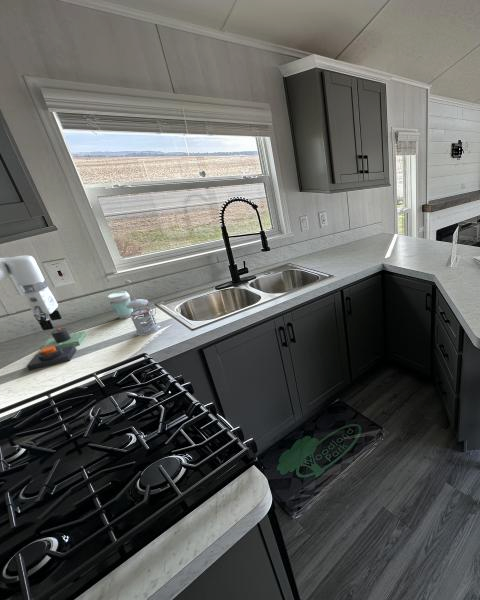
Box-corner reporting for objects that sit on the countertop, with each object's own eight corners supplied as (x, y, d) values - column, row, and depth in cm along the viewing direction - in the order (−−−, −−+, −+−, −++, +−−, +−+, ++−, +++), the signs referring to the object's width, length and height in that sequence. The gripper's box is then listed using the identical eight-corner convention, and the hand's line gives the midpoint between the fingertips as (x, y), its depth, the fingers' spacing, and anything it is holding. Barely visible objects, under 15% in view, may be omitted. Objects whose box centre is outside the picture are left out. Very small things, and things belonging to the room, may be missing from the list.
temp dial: (69, 340, 140) (63, 330, 138) (54, 343, 138) (48, 334, 136) (72, 335, 144) (67, 326, 142) (57, 338, 142) (52, 329, 140)
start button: (41, 356, 127) (38, 352, 126) (45, 351, 130) (42, 347, 129) (54, 353, 129) (52, 349, 128) (58, 348, 132) (56, 344, 131)
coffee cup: (140, 313, 166) (131, 292, 161) (122, 321, 159) (112, 299, 154) (131, 310, 170) (122, 289, 165) (112, 318, 163) (102, 296, 158)
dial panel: (42, 353, 136) (40, 349, 135) (51, 342, 143) (49, 338, 143) (80, 345, 141) (77, 340, 140) (86, 334, 149) (84, 330, 148)
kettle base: (29, 370, 125) (23, 362, 123) (38, 358, 132) (33, 350, 130) (70, 360, 130) (65, 352, 128) (76, 350, 137) (72, 341, 135)
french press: (129, 335, 147) (106, 283, 136) (151, 322, 157) (131, 274, 147) (147, 336, 145) (126, 284, 135) (168, 323, 156) (150, 274, 145)
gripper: (37, 292, 125) (57, 331, 132) (54, 278, 139) (71, 314, 146) (10, 296, 122) (32, 335, 129) (29, 281, 136) (48, 318, 143)
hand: (52, 324), depth 138 cm, fingers open, 9 cm apart
